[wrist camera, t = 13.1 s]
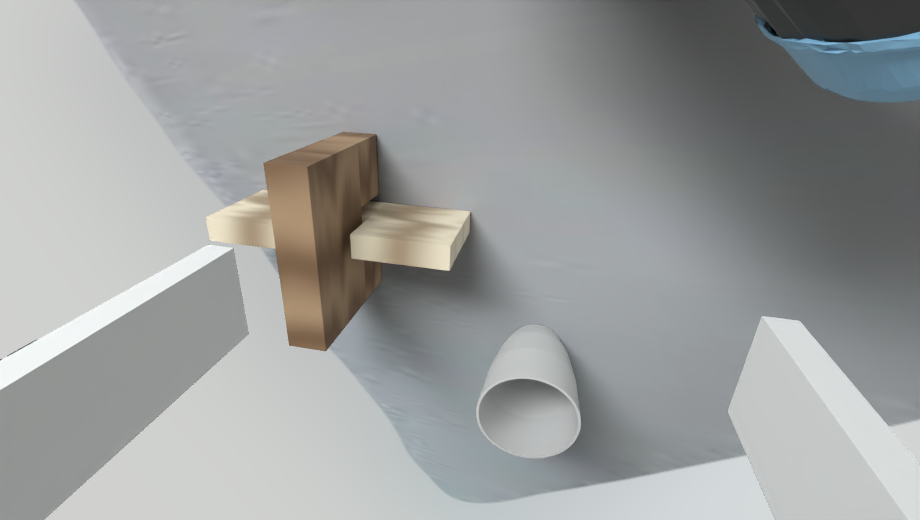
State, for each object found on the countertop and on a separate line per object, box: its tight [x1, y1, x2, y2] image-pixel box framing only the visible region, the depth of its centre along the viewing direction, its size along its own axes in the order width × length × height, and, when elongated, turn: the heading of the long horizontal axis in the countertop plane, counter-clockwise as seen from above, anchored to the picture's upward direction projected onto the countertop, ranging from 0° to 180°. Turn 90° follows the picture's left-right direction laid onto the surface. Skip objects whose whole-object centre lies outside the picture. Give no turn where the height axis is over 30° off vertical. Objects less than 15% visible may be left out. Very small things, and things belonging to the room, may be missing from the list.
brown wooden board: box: [264, 132, 382, 351], centre depth 38 cm, size 14×3×12 cm, turn 178°
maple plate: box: [206, 190, 470, 271], centre depth 40 cm, size 20×2×8 cm, turn 87°
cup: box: [476, 324, 581, 458], centre depth 41 cm, size 8×8×10 cm
